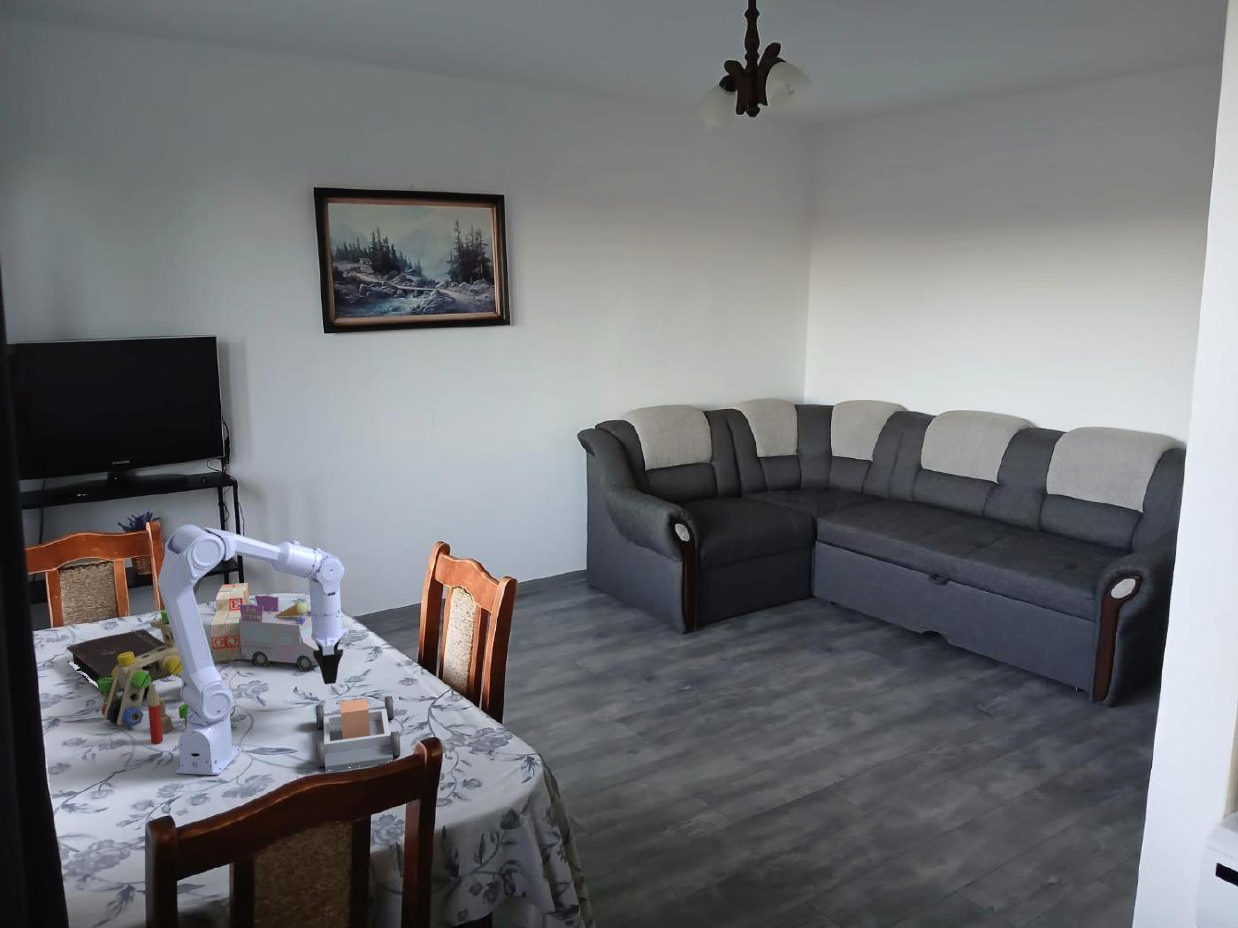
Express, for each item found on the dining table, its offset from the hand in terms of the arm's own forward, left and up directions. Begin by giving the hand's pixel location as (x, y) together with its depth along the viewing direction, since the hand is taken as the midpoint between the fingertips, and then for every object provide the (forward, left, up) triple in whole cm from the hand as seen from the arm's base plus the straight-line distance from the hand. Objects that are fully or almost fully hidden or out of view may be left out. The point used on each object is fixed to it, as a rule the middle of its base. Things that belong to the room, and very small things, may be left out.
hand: (329, 675), depth 189 cm
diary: (+21, +56, -10) cm, 61 cm away
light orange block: (-8, -8, -8) cm, 14 cm away
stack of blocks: (+37, +39, -10) cm, 55 cm away
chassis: (-8, -8, -9) cm, 15 cm away
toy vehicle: (+27, +21, -10) cm, 36 cm away
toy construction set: (-1, +35, -10) cm, 37 cm away
